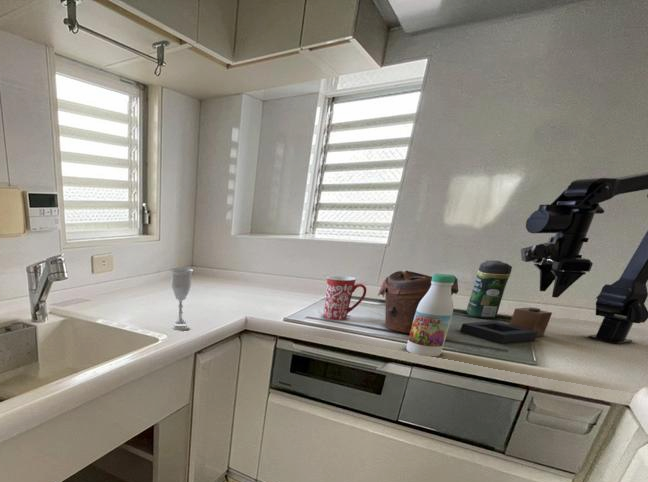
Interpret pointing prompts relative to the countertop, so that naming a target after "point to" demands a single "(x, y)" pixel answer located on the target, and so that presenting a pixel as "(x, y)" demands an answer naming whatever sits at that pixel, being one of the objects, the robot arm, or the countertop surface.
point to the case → (405, 297)
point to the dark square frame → (498, 331)
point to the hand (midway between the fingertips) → (548, 294)
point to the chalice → (181, 290)
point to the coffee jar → (488, 289)
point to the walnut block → (531, 319)
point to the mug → (340, 296)
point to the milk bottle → (432, 318)
